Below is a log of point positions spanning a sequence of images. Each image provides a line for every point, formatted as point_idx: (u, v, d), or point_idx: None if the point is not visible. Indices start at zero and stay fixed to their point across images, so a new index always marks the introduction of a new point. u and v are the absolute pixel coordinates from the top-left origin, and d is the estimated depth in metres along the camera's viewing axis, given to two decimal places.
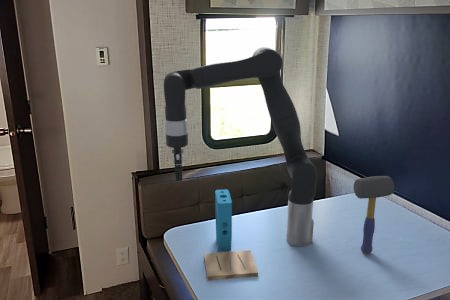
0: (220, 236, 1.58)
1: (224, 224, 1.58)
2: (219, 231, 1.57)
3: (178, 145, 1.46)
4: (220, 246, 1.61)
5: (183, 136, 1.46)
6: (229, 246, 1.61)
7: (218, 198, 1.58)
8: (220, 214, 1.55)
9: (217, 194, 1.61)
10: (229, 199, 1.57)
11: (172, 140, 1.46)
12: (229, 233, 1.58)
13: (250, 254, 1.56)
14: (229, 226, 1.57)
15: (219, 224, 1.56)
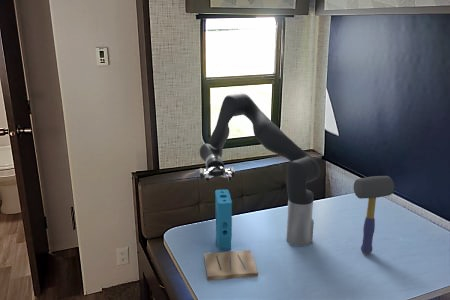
0: (220, 236, 1.58)
1: (224, 224, 1.58)
2: (219, 231, 1.57)
3: (206, 167, 1.84)
4: (220, 246, 1.61)
5: (207, 161, 1.86)
6: (229, 246, 1.61)
7: (218, 198, 1.58)
8: (220, 214, 1.55)
9: (217, 194, 1.61)
10: (229, 199, 1.57)
11: None
12: (229, 233, 1.58)
13: (250, 254, 1.56)
14: (229, 226, 1.57)
15: (219, 224, 1.56)
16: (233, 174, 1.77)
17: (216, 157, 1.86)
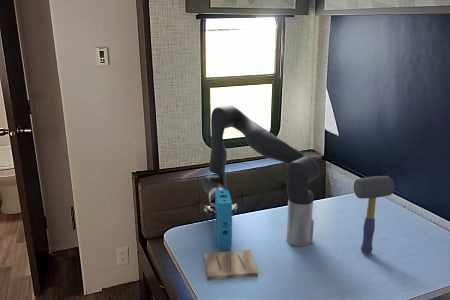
0: (220, 236, 1.58)
1: (224, 224, 1.58)
2: (219, 231, 1.57)
3: (210, 203, 1.74)
4: (220, 246, 1.60)
5: (211, 195, 1.76)
6: (229, 246, 1.61)
7: (218, 198, 1.58)
8: (220, 214, 1.55)
9: (217, 194, 1.61)
10: (229, 199, 1.57)
11: None
12: (229, 233, 1.58)
13: (250, 254, 1.56)
14: (229, 226, 1.57)
15: (219, 224, 1.56)
16: None
17: None
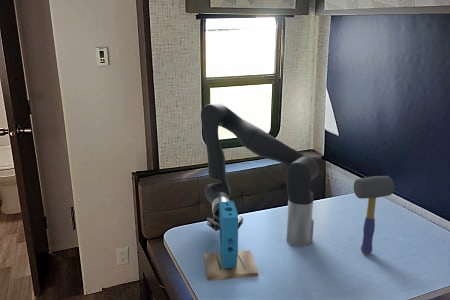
0: (225, 253, 1.43)
1: (229, 240, 1.43)
2: (224, 248, 1.43)
3: (213, 214, 1.59)
4: (225, 264, 1.46)
5: (214, 206, 1.62)
6: (235, 264, 1.47)
7: (223, 211, 1.43)
8: (225, 229, 1.40)
9: (222, 207, 1.46)
10: (235, 212, 1.42)
11: None
12: (235, 250, 1.43)
13: (250, 254, 1.56)
14: (235, 242, 1.42)
15: (224, 240, 1.42)
16: None
17: None
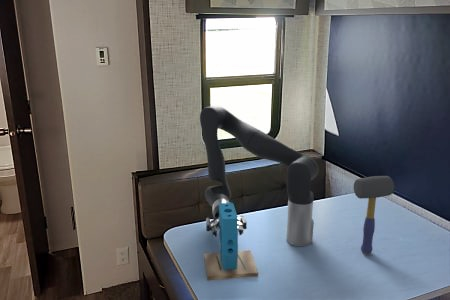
0: (225, 255, 1.43)
1: (229, 241, 1.43)
2: (224, 249, 1.43)
3: None
4: (225, 265, 1.46)
5: (215, 208, 1.62)
6: (235, 265, 1.47)
7: (222, 213, 1.43)
8: (224, 230, 1.40)
9: (221, 208, 1.46)
10: (234, 213, 1.43)
11: None
12: (235, 251, 1.43)
13: (250, 254, 1.56)
14: (235, 244, 1.42)
15: (224, 242, 1.42)
16: (245, 226, 1.53)
17: None
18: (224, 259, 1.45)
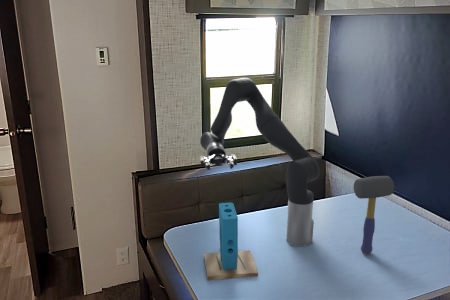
0: (225, 255, 1.43)
1: (229, 241, 1.43)
2: (224, 249, 1.43)
3: (207, 155, 1.77)
4: (225, 265, 1.46)
5: (208, 149, 1.79)
6: (235, 265, 1.47)
7: (222, 213, 1.43)
8: (224, 230, 1.40)
9: (221, 208, 1.46)
10: (234, 213, 1.43)
11: None
12: (235, 251, 1.43)
13: (250, 254, 1.56)
14: (235, 244, 1.42)
15: (224, 242, 1.42)
16: (235, 162, 1.70)
17: (217, 145, 1.79)
18: (224, 259, 1.45)
